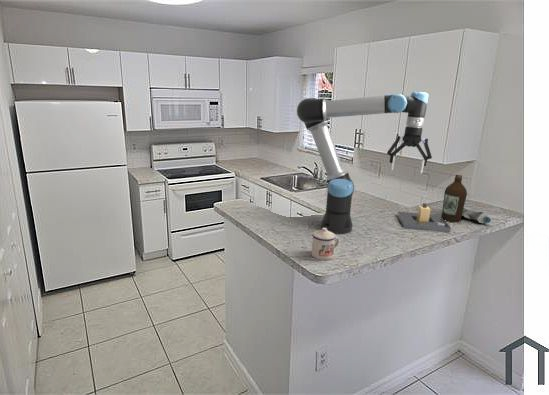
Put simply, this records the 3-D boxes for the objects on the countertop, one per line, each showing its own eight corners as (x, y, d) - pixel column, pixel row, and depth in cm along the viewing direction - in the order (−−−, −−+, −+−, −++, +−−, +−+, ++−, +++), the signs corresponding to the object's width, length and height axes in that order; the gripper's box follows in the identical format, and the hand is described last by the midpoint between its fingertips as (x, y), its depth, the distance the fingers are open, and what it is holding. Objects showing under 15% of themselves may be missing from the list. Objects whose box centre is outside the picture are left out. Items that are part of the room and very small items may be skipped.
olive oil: (445, 215, 199) (452, 172, 193) (464, 220, 192) (473, 175, 185) (436, 219, 193) (444, 174, 186) (456, 224, 185) (465, 178, 178)
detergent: (440, 213, 204) (477, 227, 181) (443, 201, 202) (481, 213, 180) (457, 213, 208) (495, 227, 186) (460, 201, 207) (499, 214, 184)
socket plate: (403, 227, 177) (404, 221, 176) (397, 215, 196) (398, 209, 195) (449, 232, 173) (451, 225, 172) (439, 219, 192) (440, 213, 191)
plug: (418, 225, 182) (422, 204, 179) (416, 221, 188) (419, 201, 185) (427, 226, 181) (431, 205, 178) (425, 222, 187) (428, 202, 184)
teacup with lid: (318, 262, 136) (320, 233, 132) (306, 252, 143) (308, 225, 140) (344, 257, 141) (347, 230, 137) (331, 248, 148) (333, 222, 145)
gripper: (388, 124, 162) (380, 170, 168) (444, 129, 159) (435, 175, 165) (385, 123, 169) (378, 167, 175) (439, 128, 166) (430, 172, 172)
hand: (406, 171), depth 170 cm, fingers open, 13 cm apart
